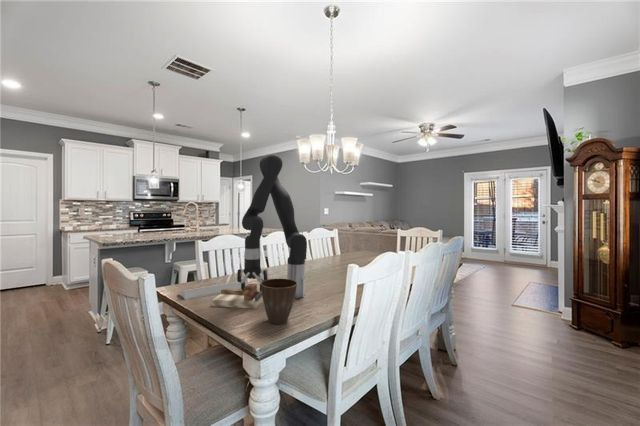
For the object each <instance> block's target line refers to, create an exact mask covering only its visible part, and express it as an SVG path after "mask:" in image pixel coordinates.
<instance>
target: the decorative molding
mask: <svg viewBox="0 0 640 426" xmlns="http://www.w3.org/2000/svg"><path fill="white" fill-rule="evenodd" d="M248 284H249V282H248V280H247V279H246V280H245V286H247V285H248ZM221 289H233V290H241V283H240V282H237V281H232V282H226V283H222V284H216V285H207V286H202V287H197V288H191V289H186V290H184V289H183V290H179V291H178V294H179V297H182V298H183V300H185V301H186V300H187V301H188V300H192V299H197V298H202V297H207V296H215V295H218V294H219V295H220V294H221Z"/></svg>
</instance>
